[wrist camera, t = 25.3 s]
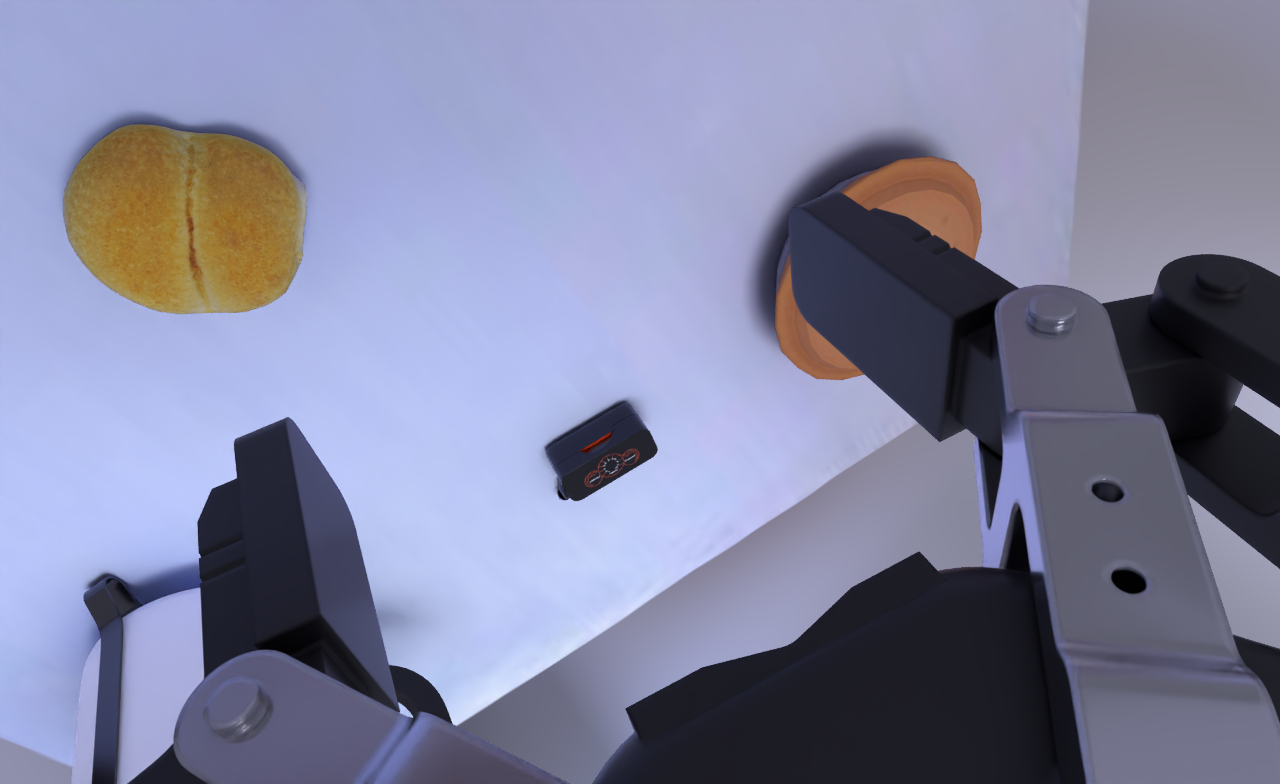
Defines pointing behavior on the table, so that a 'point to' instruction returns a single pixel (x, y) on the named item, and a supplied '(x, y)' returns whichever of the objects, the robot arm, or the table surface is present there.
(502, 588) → the table surface
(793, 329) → the pie
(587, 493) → the dark boxy piece
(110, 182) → the bread roll
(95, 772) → the coffee press
